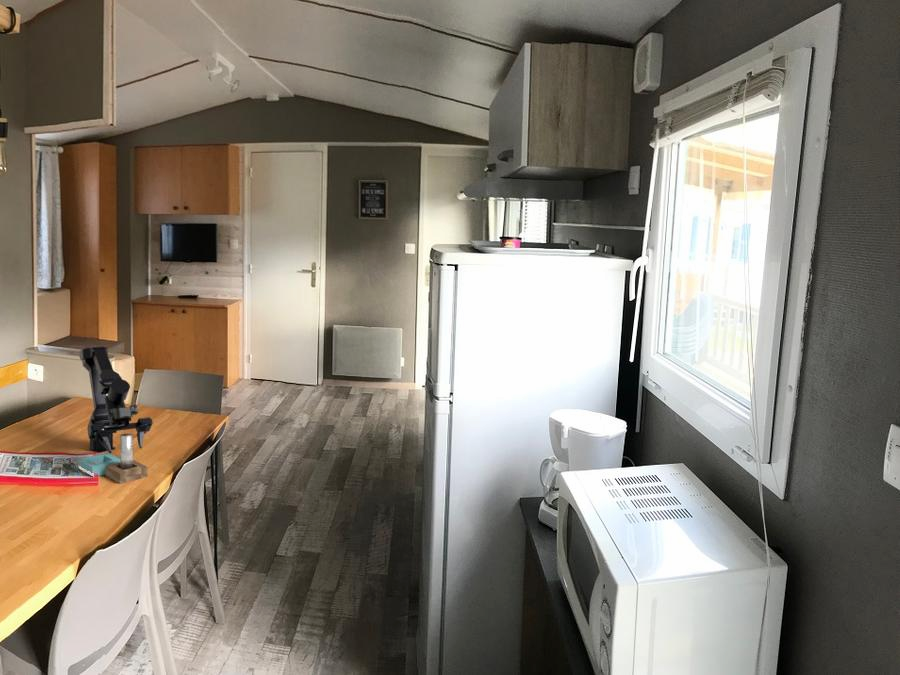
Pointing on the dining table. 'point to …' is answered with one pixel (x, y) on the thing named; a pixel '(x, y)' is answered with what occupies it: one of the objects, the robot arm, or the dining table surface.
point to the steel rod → (126, 451)
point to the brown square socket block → (126, 472)
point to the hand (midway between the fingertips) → (126, 450)
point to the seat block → (98, 463)
